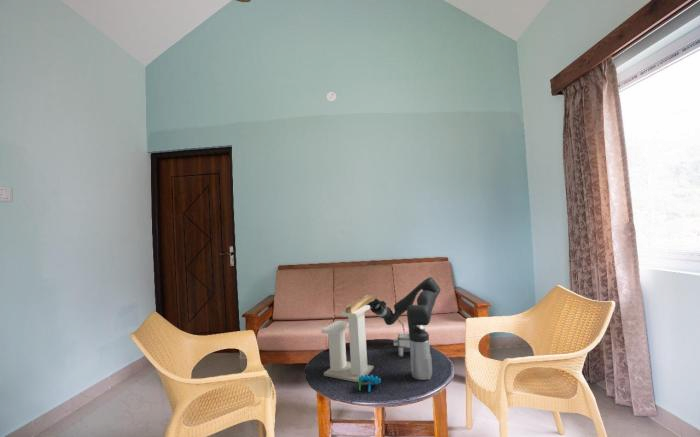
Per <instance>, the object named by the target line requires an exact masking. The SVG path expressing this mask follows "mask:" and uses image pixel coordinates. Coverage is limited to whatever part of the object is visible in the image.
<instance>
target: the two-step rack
mask: <svg viewBox="0 0 700 437" xmlns="http://www.w3.org/2000/svg"><path fill="white" fill-rule="evenodd" d="M368 310H371V309H370V305H365V306H363V307H361V308H360V309H358V310H356V311H354V312H353V313H346V309H345V310H343V311H341V312H340V313H341V317H347V320H348V321H345V320H336V321H333V323H331V324H329V325H327V326H325V327H324V328H322V329H321V334H326V335H328V347H329V348H328V349H329V366H330V368H328V369H327V370H325V371H324V372H323V376H324V377H327V378H328V377H329V378H334V379H339V380H345V381H348V382H349V381H350V382H352V383H353V382H354V383H358V382H357V378H358V379H359V377H361V375H363V376H365V375H368V376H369V374H370V373H371V372H372V371H373V370H374V368H375V367H374V365H370V364H368V355H367V353H368V352H367V336H366V335H367V334H366V317H365V313H366V312H367V311H368ZM346 328H348V334H349V339H348V340H349V353H350V361H349V360H348V361H347V350H346V334H345V333H346V332H345V330H346Z"/></svg>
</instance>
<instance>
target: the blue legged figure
mask: <svg viewBox="0 0 700 437" xmlns="http://www.w3.org/2000/svg"><path fill="white" fill-rule="evenodd" d="M381 381H382V380H381V377H379V376H377V375H375V376H374V375H373V374H370V375H369V374H368V375H365V376H363V375H361V377H359V379H358V378H357V382H356V383H357V385H358V391H361V390H362V388H361V387H362V386H367V392H368V393H370V392H371V387H372V386H373V385H374V386H375V385H379V384H381V383H382V382H381Z"/></svg>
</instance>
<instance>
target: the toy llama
mask: <svg viewBox="0 0 700 437" xmlns="http://www.w3.org/2000/svg"><path fill="white" fill-rule="evenodd" d="M416 326H417V327H419V328H420V329H422V330H424V331H426V329H425V326H426V325H416ZM393 346H396V347H397V350H398V351H397V352H398V353H397V354H398V358H403V357H404V350H405V349H407V348H408V349H410V340H409V333H397V339H393Z"/></svg>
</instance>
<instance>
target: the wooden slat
mask: <svg viewBox="0 0 700 437" xmlns="http://www.w3.org/2000/svg"><path fill="white" fill-rule="evenodd" d="M360 298H361V299H360ZM360 298H359V299H357V300H355V301H353V302H351V303H349V304H347V305H346V306H345V310H346V313H353V312H354V311H356V310H358V309H360V308H361V307H363V306H365V305H366V304H368V303H370V302H372V301H373V295H370V294H366V295H364V296H363V297H360Z"/></svg>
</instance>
